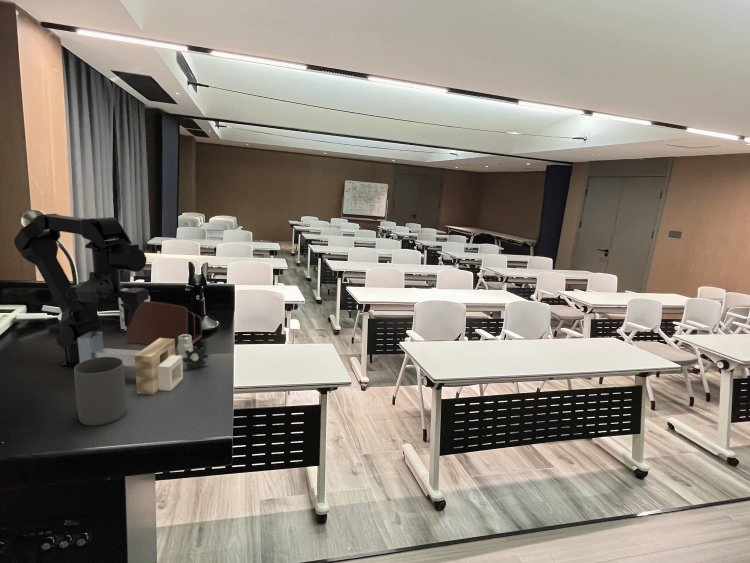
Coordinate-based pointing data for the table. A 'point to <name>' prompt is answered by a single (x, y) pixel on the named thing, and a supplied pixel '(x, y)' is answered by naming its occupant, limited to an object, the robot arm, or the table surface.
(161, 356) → the wooden block
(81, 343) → the pale grey block
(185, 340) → the valve
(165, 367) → the block
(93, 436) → the table surface
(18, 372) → the table surface
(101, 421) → the mug
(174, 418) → the table surface
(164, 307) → the letter holder
